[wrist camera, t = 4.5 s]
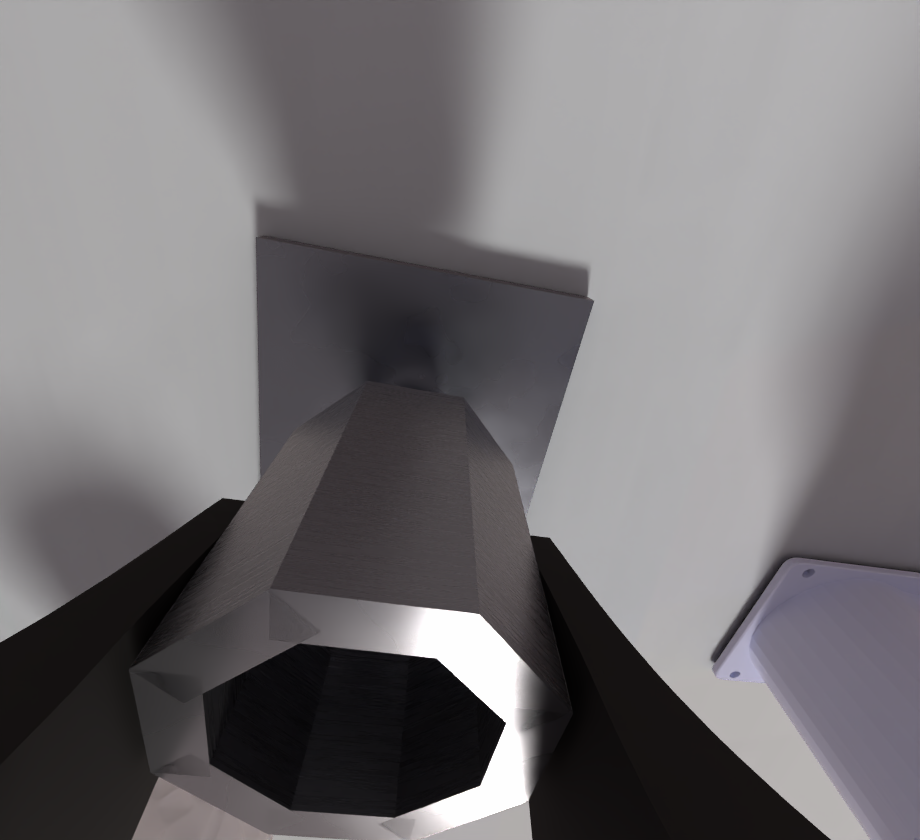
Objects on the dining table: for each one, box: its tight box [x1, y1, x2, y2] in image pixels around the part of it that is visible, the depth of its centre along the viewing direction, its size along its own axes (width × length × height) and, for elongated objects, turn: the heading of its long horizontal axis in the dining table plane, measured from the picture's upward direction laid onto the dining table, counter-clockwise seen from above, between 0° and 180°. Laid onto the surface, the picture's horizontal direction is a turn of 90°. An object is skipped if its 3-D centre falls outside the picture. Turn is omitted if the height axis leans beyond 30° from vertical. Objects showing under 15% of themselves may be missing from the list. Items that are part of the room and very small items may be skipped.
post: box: [256, 236, 594, 517], centre depth 13 cm, size 10×10×6 cm
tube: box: [129, 381, 573, 840], centre depth 9 cm, size 5×5×6 cm
